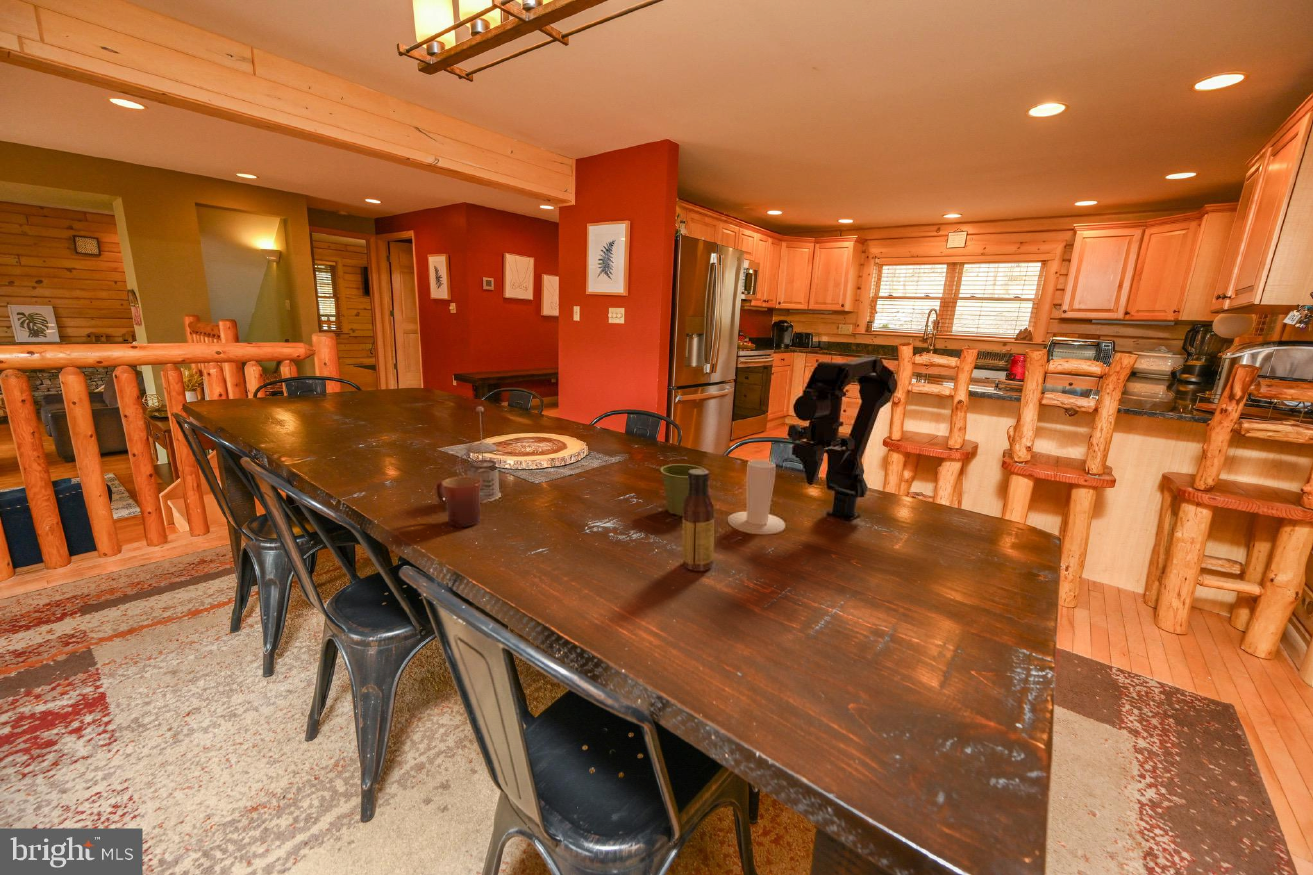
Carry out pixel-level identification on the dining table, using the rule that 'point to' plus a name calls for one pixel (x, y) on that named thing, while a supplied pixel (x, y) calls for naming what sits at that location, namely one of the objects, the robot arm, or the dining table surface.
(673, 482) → the plant pot
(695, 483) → the sauce bottle
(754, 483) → the drinking glass
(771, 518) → the cream flat disc
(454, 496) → the mug
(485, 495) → the french press
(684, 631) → the dining table surface
